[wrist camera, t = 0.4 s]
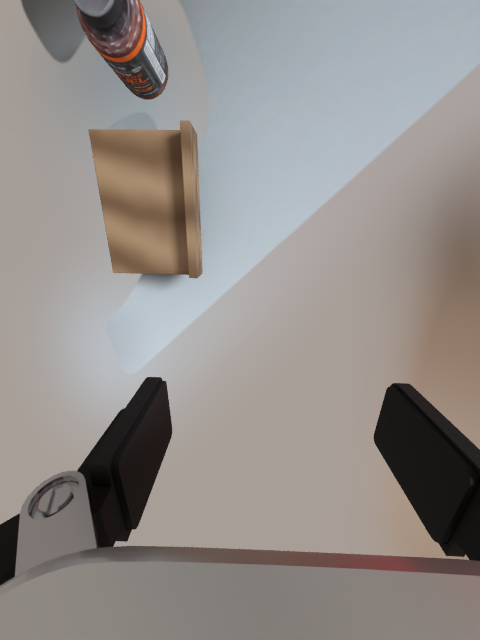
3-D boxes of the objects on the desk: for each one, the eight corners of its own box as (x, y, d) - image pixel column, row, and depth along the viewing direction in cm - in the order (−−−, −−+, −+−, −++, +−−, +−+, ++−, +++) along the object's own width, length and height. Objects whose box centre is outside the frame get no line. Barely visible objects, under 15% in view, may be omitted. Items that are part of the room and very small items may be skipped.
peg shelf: (117, 148, 32) (73, 119, 24) (204, 149, 32) (189, 120, 24) (134, 266, 38) (103, 275, 30) (208, 268, 37) (197, 278, 29)
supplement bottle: (125, 101, 30) (59, 30, 20) (119, 38, 28) (41, -79, 17) (171, 103, 30) (130, 33, 19) (168, 40, 28) (120, -77, 17)
